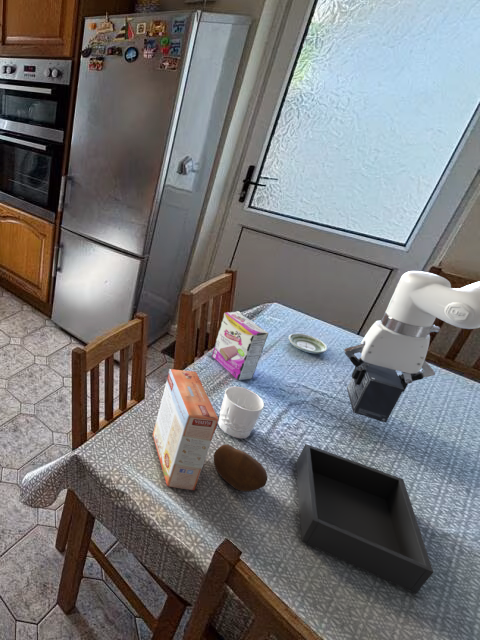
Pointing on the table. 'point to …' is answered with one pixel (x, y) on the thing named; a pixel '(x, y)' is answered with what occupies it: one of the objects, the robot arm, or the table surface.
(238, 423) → the white cup
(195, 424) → the cracker box
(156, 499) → the table surface
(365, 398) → the small box
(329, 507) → the basket
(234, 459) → the potato
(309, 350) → the saucer
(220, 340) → the candy bar box
